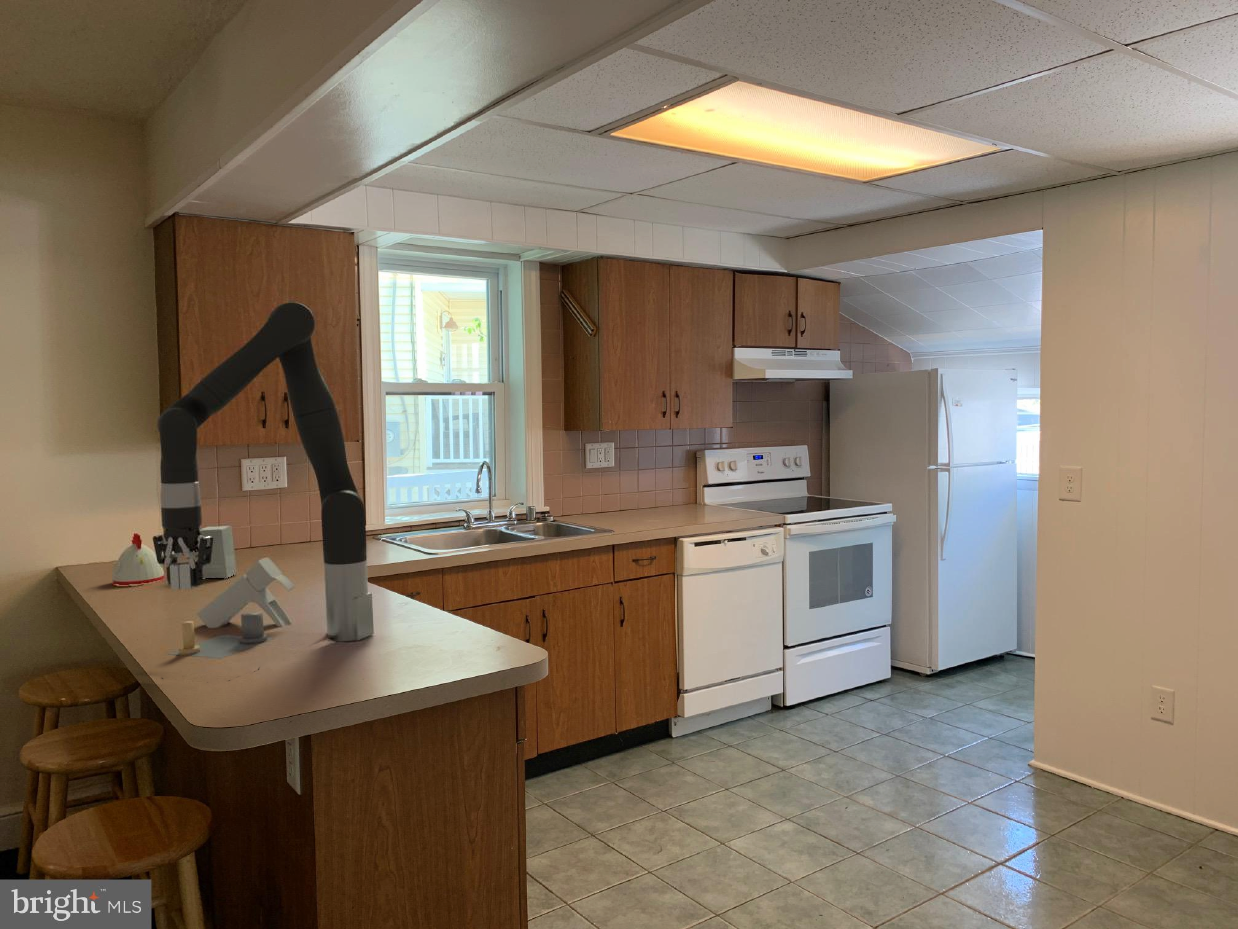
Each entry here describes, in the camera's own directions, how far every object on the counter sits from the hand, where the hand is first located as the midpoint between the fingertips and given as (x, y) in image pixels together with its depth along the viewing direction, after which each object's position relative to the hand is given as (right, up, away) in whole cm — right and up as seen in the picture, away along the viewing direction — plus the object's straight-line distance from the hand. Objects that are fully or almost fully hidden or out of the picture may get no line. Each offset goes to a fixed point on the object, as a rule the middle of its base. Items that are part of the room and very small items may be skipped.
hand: (185, 584), depth 190 cm
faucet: (+3, -14, +25) cm, 29 cm away
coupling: (0, 0, 0) cm, 1 cm away
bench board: (+5, -15, +6) cm, 17 cm away
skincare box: (-34, -10, +92) cm, 99 cm away
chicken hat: (-56, -11, +88) cm, 105 cm away
